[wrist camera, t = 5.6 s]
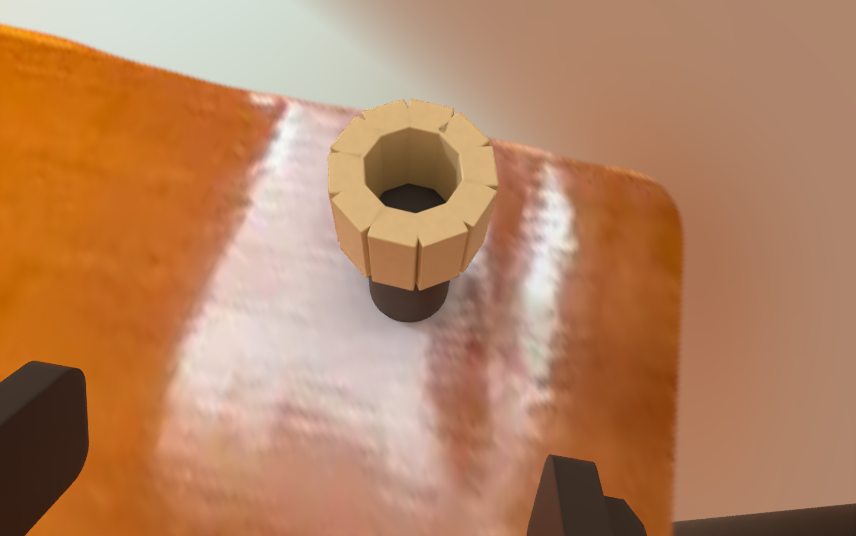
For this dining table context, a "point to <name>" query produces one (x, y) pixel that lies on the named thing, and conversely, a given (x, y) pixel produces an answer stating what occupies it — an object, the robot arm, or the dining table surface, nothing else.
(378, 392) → the dining table surface
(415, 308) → the cylinder
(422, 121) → the beige thick ring
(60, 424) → the robot arm
